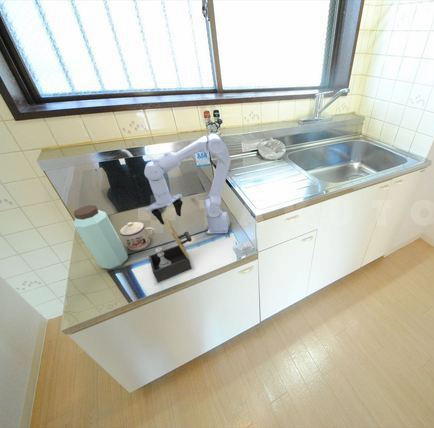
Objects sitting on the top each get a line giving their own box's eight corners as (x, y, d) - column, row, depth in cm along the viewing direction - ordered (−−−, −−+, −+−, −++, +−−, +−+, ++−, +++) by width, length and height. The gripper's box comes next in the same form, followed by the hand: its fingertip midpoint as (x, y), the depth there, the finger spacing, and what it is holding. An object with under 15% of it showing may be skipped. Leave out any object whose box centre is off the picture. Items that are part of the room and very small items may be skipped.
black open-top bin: (157, 283, 85) (152, 272, 82) (153, 266, 92) (148, 255, 89) (191, 268, 91) (188, 258, 87) (185, 253, 98) (181, 243, 95)
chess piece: (160, 264, 92) (151, 245, 86) (172, 261, 93) (164, 242, 88) (159, 272, 88) (151, 253, 83) (172, 268, 90) (164, 249, 84)
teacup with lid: (127, 253, 98) (115, 232, 92) (128, 241, 105) (118, 220, 98) (158, 245, 102) (149, 224, 96) (158, 233, 109) (149, 213, 103)
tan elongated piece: (170, 233, 79) (184, 226, 81) (165, 219, 86) (177, 213, 88) (187, 258, 87) (198, 251, 89) (180, 243, 94) (191, 237, 96)
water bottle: (108, 274, 88) (74, 221, 75) (96, 264, 93) (61, 212, 79) (134, 258, 96) (107, 207, 82) (121, 250, 100) (94, 200, 86)
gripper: (147, 202, 86) (159, 230, 94) (183, 187, 96) (191, 215, 103) (139, 196, 90) (150, 224, 98) (173, 183, 100) (182, 209, 107)
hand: (170, 219), depth 101 cm, fingers open, 7 cm apart
